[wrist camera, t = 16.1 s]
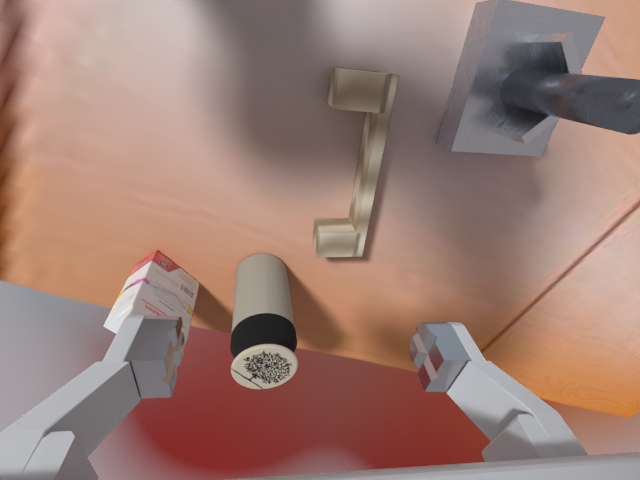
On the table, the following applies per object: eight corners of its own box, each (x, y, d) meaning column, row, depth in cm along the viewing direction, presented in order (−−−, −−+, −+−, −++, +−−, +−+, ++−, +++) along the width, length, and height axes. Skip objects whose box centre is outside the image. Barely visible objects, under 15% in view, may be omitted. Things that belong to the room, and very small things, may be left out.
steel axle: (508, 67, 37) (641, 79, 24) (537, 70, 37) (680, 84, 25) (494, 104, 39) (610, 132, 26) (522, 106, 39) (647, 135, 27)
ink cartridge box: (132, 266, 46) (87, 347, 34) (157, 248, 45) (121, 324, 33) (178, 299, 50) (153, 381, 38) (201, 283, 50) (184, 361, 37)
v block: (476, 2, 36) (534, -9, 29) (575, 19, 39) (652, 13, 31) (436, 143, 44) (473, 163, 37) (520, 148, 47) (571, 168, 39)
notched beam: (330, 66, 37) (339, 68, 33) (384, 72, 38) (398, 75, 34) (312, 241, 49) (317, 257, 45) (353, 240, 50) (361, 256, 47)
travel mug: (270, 244, 48) (278, 334, 33) (295, 278, 52) (311, 372, 37) (226, 267, 49) (213, 366, 34) (253, 299, 53) (253, 399, 38)
